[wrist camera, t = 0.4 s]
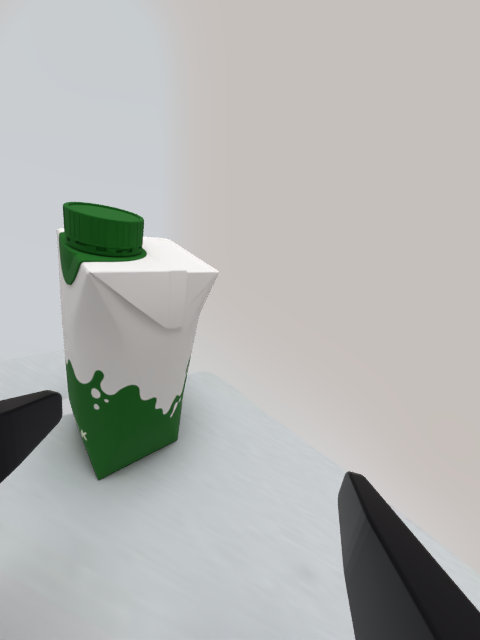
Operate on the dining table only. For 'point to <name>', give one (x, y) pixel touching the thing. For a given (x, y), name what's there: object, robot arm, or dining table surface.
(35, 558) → the dining table surface
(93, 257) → the milk carton
